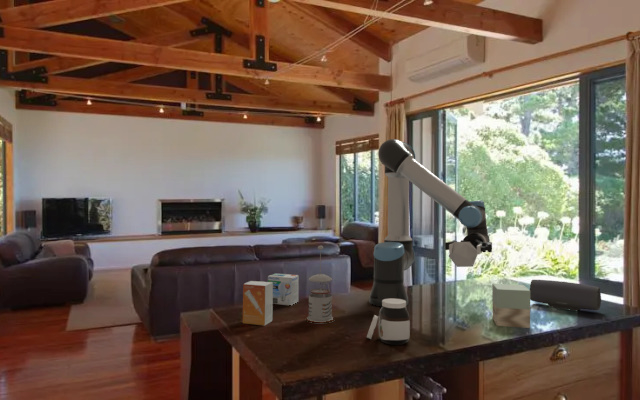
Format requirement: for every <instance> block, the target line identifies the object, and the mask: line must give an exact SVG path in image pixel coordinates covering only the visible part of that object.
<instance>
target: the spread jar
mask: <svg viewBox="0 0 640 400" xmlns="http://www.w3.org/2000/svg"><path fill="white" fill-rule="evenodd" d="M382 306H383V307H381V308H380V309H379V312H378V315H375V314H374V315H373V317H372V321H371V322H370V326H369V329H368V331H367V334H366V338H367V339H370V340H372V337H373V334H374V332H375V329H376V327H377V323H378V334H379V339H380V341H381V342H382V343H384V344H386V345H391V346H399V345H405V344H406V343H407V342H409V340H410V336H411V334H410V333H411V332H410V330H411V321H410V320H411V319H410V313H409V311H408V310H407V306H406V301H405V300H402V299H395V298H390V299H384V300H382Z"/></svg>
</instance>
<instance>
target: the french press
mask: <svg viewBox="0 0 640 400" xmlns="http://www.w3.org/2000/svg"><path fill="white" fill-rule="evenodd" d="M317 249H318V250H319V273H317V274H313V275H311V276H310V277H309V278H308V281H310V282H313V283H319V288H312V289H310V290H309V292H310V293H309V294H308V316H307V317H306V318H307V319H308V320H310V321H314V322H326V321H330V320H333V318H334V317H333V312H332V310H333V309H332V307H333V305H332V302H333V300H332V299H333V295H332V294H331V292H332V291H331V290H330V289H329V288H330V284H329V283H330V282H332V281H333V278H332V277H330V276H329V275H327V274H324V273H322V271H321V270H322V266H321V265H322V261H321V260H322V254H321V253H322V250H324V246H323V245H318V246H317ZM327 285H328V286H327ZM322 286H323V288H321V287H322ZM326 286H327V287H328V288H326Z"/></svg>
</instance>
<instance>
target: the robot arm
mask: <svg viewBox="0 0 640 400" xmlns="http://www.w3.org/2000/svg"><path fill="white" fill-rule="evenodd" d="M377 154H378V159H379V161H380V163H381V164H382V165H383V166H384V175H385V176H386V177H387V181H388V182H387V185H388V186H387V192H388V193H387V199H388V200H387V235H386V236H385V238H384V242H379V243H377V244H375V246H374V248H373V249H374V251H373V283H372V287H371V290H370V294H369V298H368V303H369V304H370V305H372V304H373V305H372V306H375V305H376V306H375V307H379V306H381V308H382V307H383V306H382V300H384V299H390V298H395V299H402V300H405V301H406V307H407V306H408V305H409V296H408V294H407V290H406V287H405V283H404V282H405V271H406V270H409V268H411V266H412V265H413V264H414V262H415V260H416V259H415V258H416V253H415V249H414V247H413V238H412V237H411V235H409V234H410V230H409V229H410V228H409V226H410V183H412V184H413V185H414V186H415V187H416V188H418V189H419V190H420V191H422V192H423V193H424V194H425V195H427V196H428V197H430V198H431V199H432V200H433V201H435V202H436V203H437V204H439V205H440V206H441V207H442V208H443V209H445V210H446V211H447V212H449V214H451V215H452V216H454V217H455V218H456V219H457V220H458V221H459V223H461V225H462V226H464V227H466V236H464V238H463V239H462V240H460V242H470V243H471V244H472V245H473V246H474V247H475V249H476V250H477V254H478V255H481V254H482V253H486V252H488V253H493V250H492V249H493V242H492V241H491V240H490V236H489V233H488V227H487V216H486V206H485V201H484V200H483V199H482V200H472V201H469V200H468V199H466V198H465V197H464V196H463V195H461V194H460V193H459V192H457V191H456V190H455V189H453V188H452V187H451V186H450V185H448V184H447V183H445V182H444V181H443V180H442V179H440V178H439V177H438V176H436V175H435V174H434V173H432V172H431V170H429V169H427V168H426V167H425V166H424V165H423V164H421V163H420V162H419V161H417V160H416V153H415V150H414V149H413V147H412V146H411V145H410V144H409V143H407V142H404V141H401V140H399V139H395V138H393V139H392V138H390V139H386V140H385V141H384V142H383V143H382V144H381V145H380V146H379V148H378V153H377ZM454 242H458V240H455V239H453V240H452V241H447V242H444V251H448V253H449V254H450V253H452V251H453V245H454V244H453V243H454Z"/></svg>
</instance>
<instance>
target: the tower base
mask: <svg viewBox="0 0 640 400" xmlns="http://www.w3.org/2000/svg"><path fill="white" fill-rule="evenodd" d="M492 320H493V321H494V323H495V325H496V326H498V327H510V328H511V327H512V328H525V329H526V328H527V329H530V328H531V308H530V309H512V308H497V307H496V305H495V304H494V303H493V302H492Z"/></svg>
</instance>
